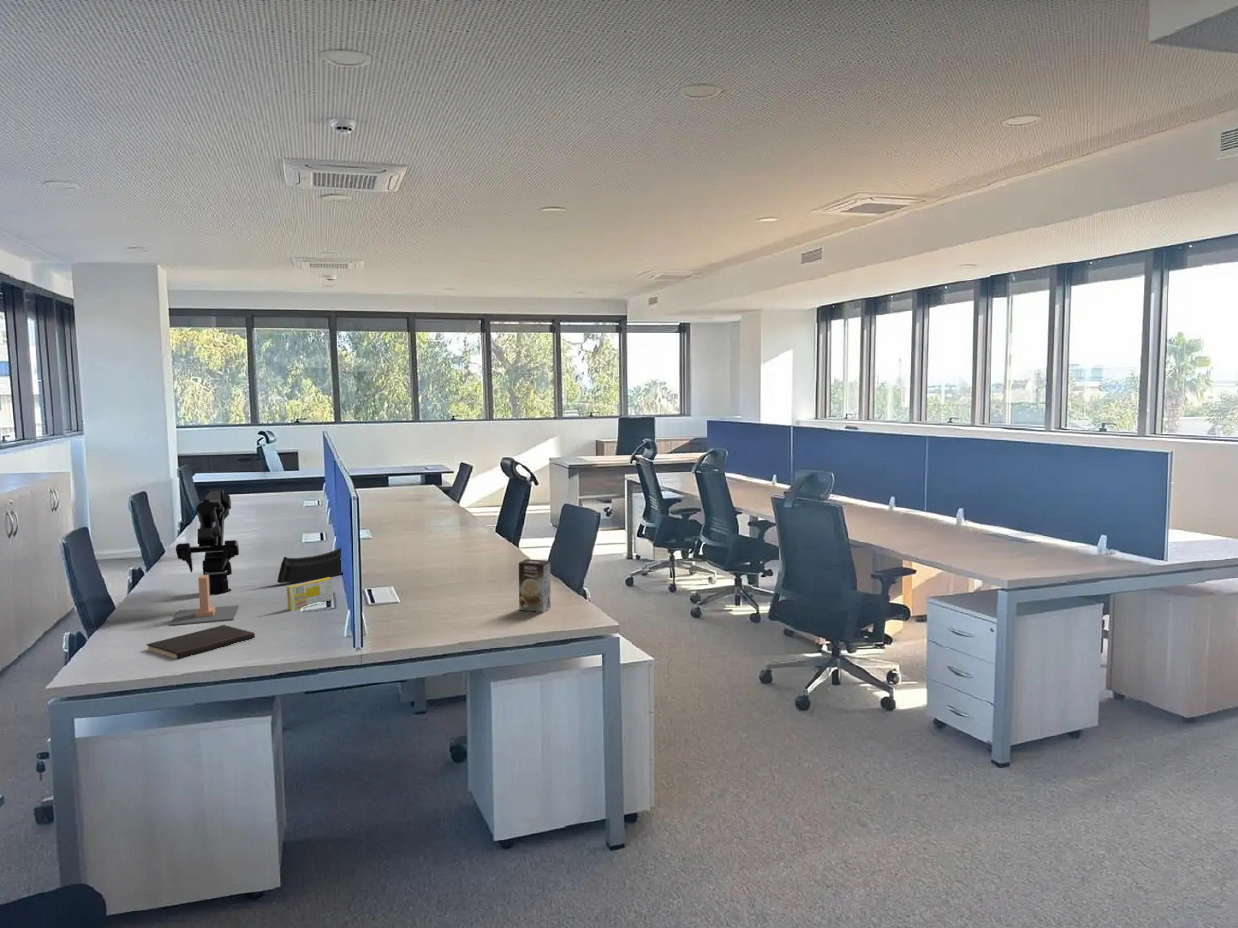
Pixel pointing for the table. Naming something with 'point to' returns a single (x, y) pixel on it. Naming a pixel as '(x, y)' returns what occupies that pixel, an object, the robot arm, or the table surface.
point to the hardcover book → (200, 641)
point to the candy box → (309, 593)
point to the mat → (189, 617)
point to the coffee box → (534, 585)
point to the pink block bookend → (204, 598)
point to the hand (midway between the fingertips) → (206, 570)
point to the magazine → (310, 567)
